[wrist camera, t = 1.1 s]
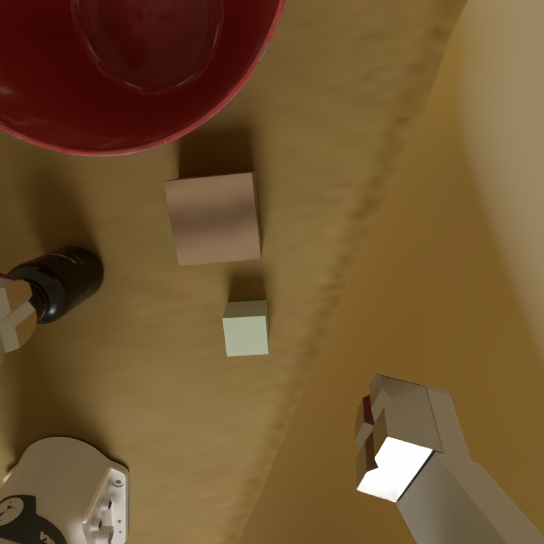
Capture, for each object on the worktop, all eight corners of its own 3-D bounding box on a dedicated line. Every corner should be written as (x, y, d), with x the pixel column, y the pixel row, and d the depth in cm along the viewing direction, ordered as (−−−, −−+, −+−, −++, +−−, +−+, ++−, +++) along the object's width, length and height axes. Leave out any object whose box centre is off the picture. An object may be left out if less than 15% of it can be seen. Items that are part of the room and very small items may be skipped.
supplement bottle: (91, 238, 45) (28, 266, 33) (113, 288, 47) (60, 331, 35) (41, 252, 45) (-39, 284, 34) (64, 301, 47) (-4, 347, 36)
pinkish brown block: (263, 245, 45) (261, 258, 39) (191, 252, 45) (178, 266, 40) (255, 170, 42) (251, 172, 36) (178, 178, 43) (163, 181, 37)
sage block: (269, 334, 48) (268, 353, 44) (231, 336, 49) (227, 356, 44) (266, 299, 47) (265, 315, 42) (227, 302, 47) (222, 318, 42)
